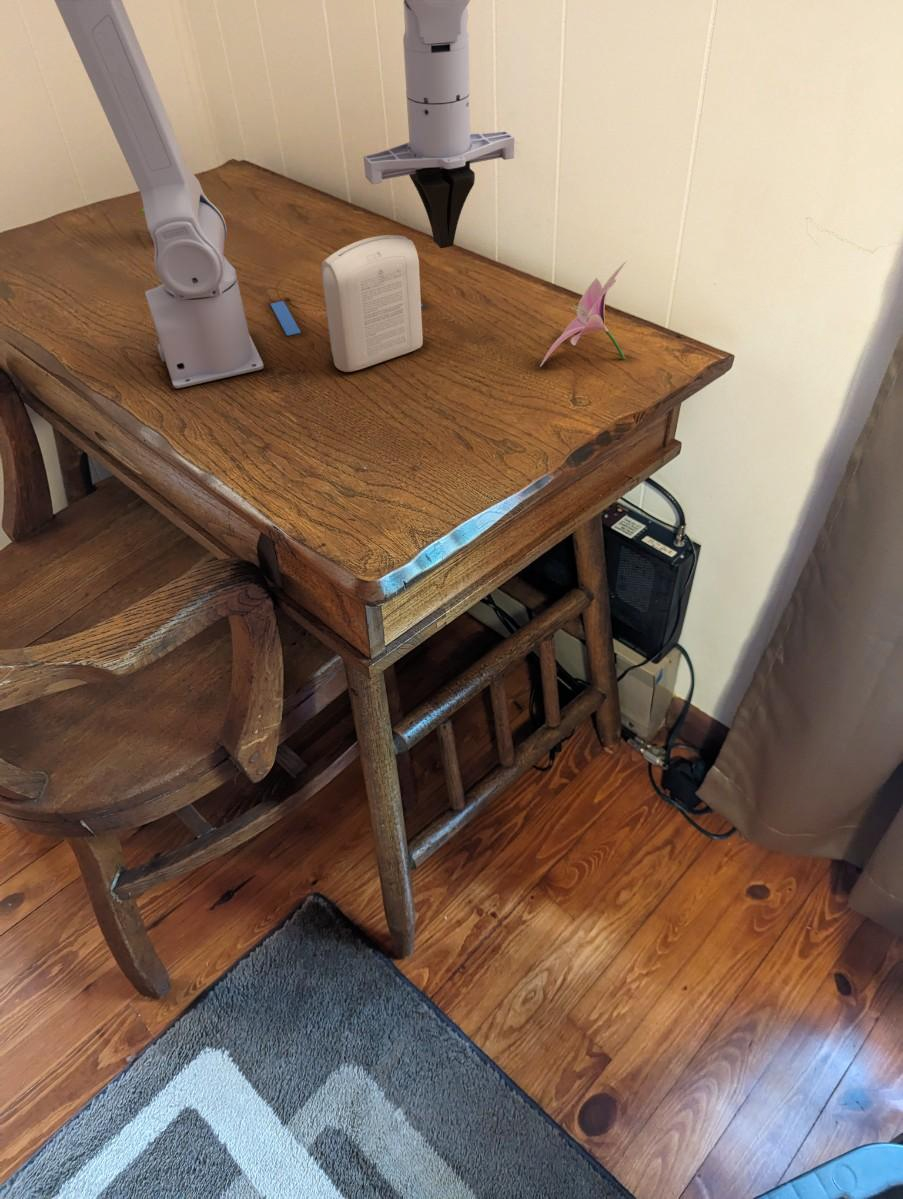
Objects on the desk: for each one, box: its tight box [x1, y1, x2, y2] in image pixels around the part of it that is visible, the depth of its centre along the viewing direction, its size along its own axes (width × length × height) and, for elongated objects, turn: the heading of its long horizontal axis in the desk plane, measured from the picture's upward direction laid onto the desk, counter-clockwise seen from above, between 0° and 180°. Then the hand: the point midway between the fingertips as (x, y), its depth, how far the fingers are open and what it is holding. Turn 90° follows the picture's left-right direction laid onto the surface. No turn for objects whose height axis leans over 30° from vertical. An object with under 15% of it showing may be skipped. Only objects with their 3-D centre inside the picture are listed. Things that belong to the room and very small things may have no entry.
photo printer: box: [320, 234, 424, 373], centre depth 89 cm, size 10×4×12 cm, turn 123°
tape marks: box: [269, 300, 424, 337], centre depth 101 cm, size 16×8×1 cm, turn 112°
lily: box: [539, 260, 628, 368], centre depth 89 cm, size 12×12×10 cm
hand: (443, 243), depth 88 cm, fingers closed
